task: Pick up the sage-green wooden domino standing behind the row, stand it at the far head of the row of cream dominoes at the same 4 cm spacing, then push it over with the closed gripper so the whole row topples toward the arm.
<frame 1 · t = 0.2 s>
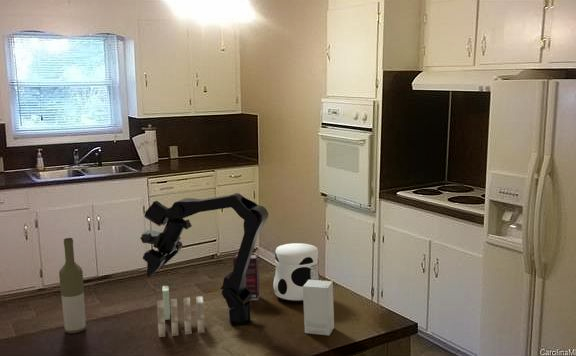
hand: (154, 271, 188), 15 cm above the counter, tool tilted 30°, fingers open, 9 cm apart
skincare box: (318, 331, 175), on the counter
domino 3: (175, 332, 175), on the counter
domino 2: (162, 333, 174), on the counter
end domino: (200, 329, 177), on the counter
supplement box: (247, 298, 203), on the counter
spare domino: (167, 316, 187), on the counter
bottle: (75, 331, 178), on the counter
domino 4: (188, 330, 176), on the counter
milk container: (297, 297, 204), on the counter
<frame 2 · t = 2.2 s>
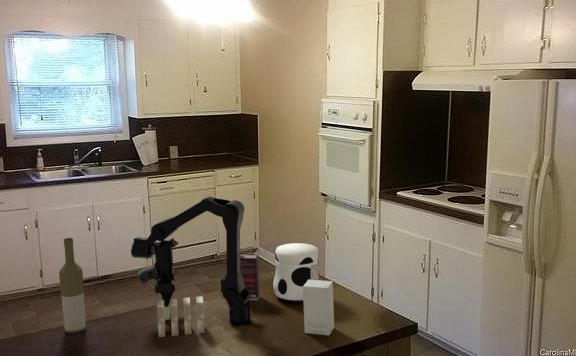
hand: (166, 303, 187), 5 cm above the counter, tool pointing down, fingers closed on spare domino, 5 cm apart
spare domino: (167, 316, 187), on the counter, touching gripper
everything else where it was.
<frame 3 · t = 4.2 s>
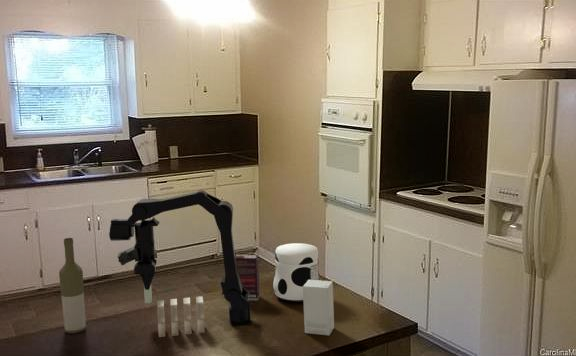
hand: (147, 286, 179), 13 cm above the counter, tool pointing down, fingers closed on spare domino, 5 cm apart
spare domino: (148, 300, 180), point 8 cm above the counter, touching gripper
everything else where it was.
when the fingers open (5 cm above the counter, at t = 6.6 s): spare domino stays where it is, on the counter.
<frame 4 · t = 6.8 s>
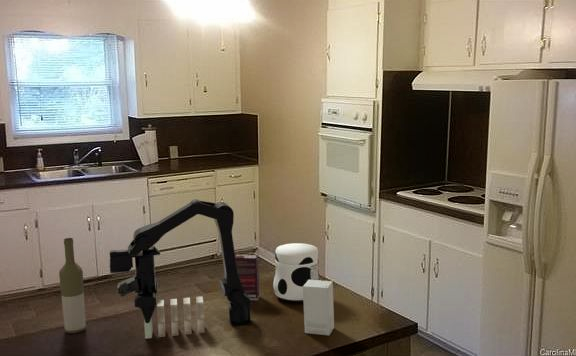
hand: (148, 317, 173), 5 cm above the counter, tool pointing down, fingers open, 7 cm apart
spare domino: (148, 334, 174), on the counter
everything else where it was.
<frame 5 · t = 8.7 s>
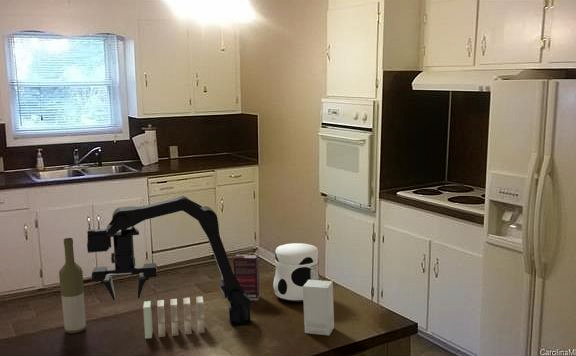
hand: (126, 299, 170), 12 cm above the counter, tool pointing down, fingers open, 7 cm apart
nothing on the counter moved.
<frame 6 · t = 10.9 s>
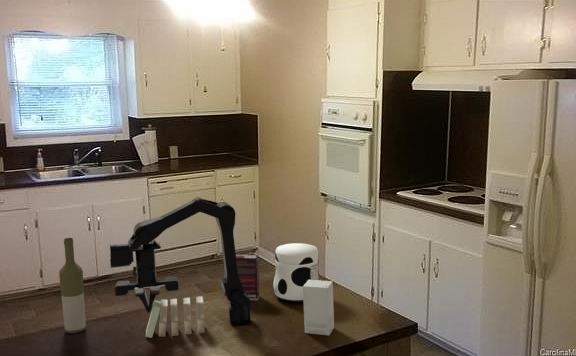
hand: (149, 312, 173), 7 cm above the counter, tool pointing down, fingers closed
domino 2: (162, 333, 174), on the counter, tilted 7°
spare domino: (149, 333, 174), on the counter, tilted 18°
everything else where it was.
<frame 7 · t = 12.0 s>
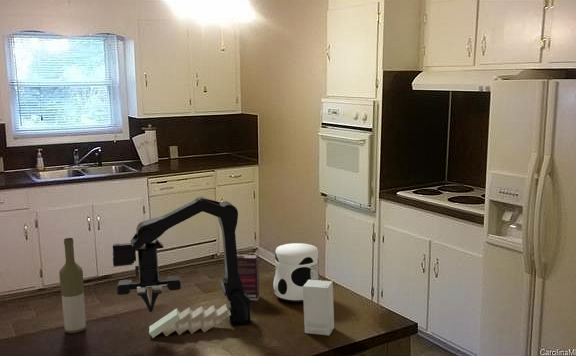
hand: (151, 311, 173), 8 cm above the counter, tool pointing down, fingers closed
domino 3: (177, 329, 175), point 1 cm above the counter, tilted 59°, touching domino 2, domino 4
domino 2: (164, 330, 174), point 1 cm above the counter, tilted 59°, touching domino 3, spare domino
end domino: (201, 326, 177), point 1 cm above the counter, tilted 60°, touching domino 4
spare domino: (151, 332, 173), point 1 cm above the counter, tilted 59°, touching domino 2
domino 4: (189, 328, 176), point 1 cm above the counter, tilted 59°, touching domino 3, end domino
everything else where it was.
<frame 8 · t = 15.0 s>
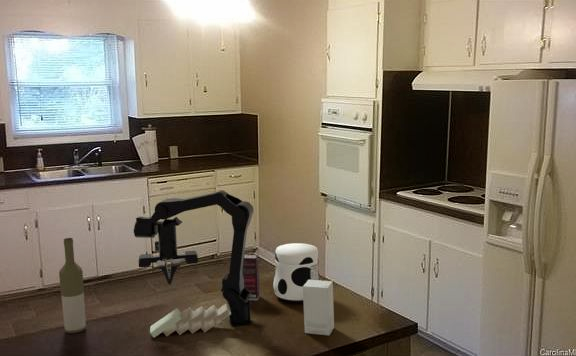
hand: (169, 284, 184), 12 cm above the counter, tool pointing down, fingers closed
domino 3: (177, 329, 175), point 1 cm above the counter, tilted 59°, touching domino 2, domino 4
end domino: (202, 326, 177), point 1 cm above the counter, tilted 59°, touching arm, domino 4
everything else where it was.
at the end: end domino tilted 59°; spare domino tilted 59°; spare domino inside the target area (0.1 cm from its centre), point 0.8 cm above the counter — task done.
